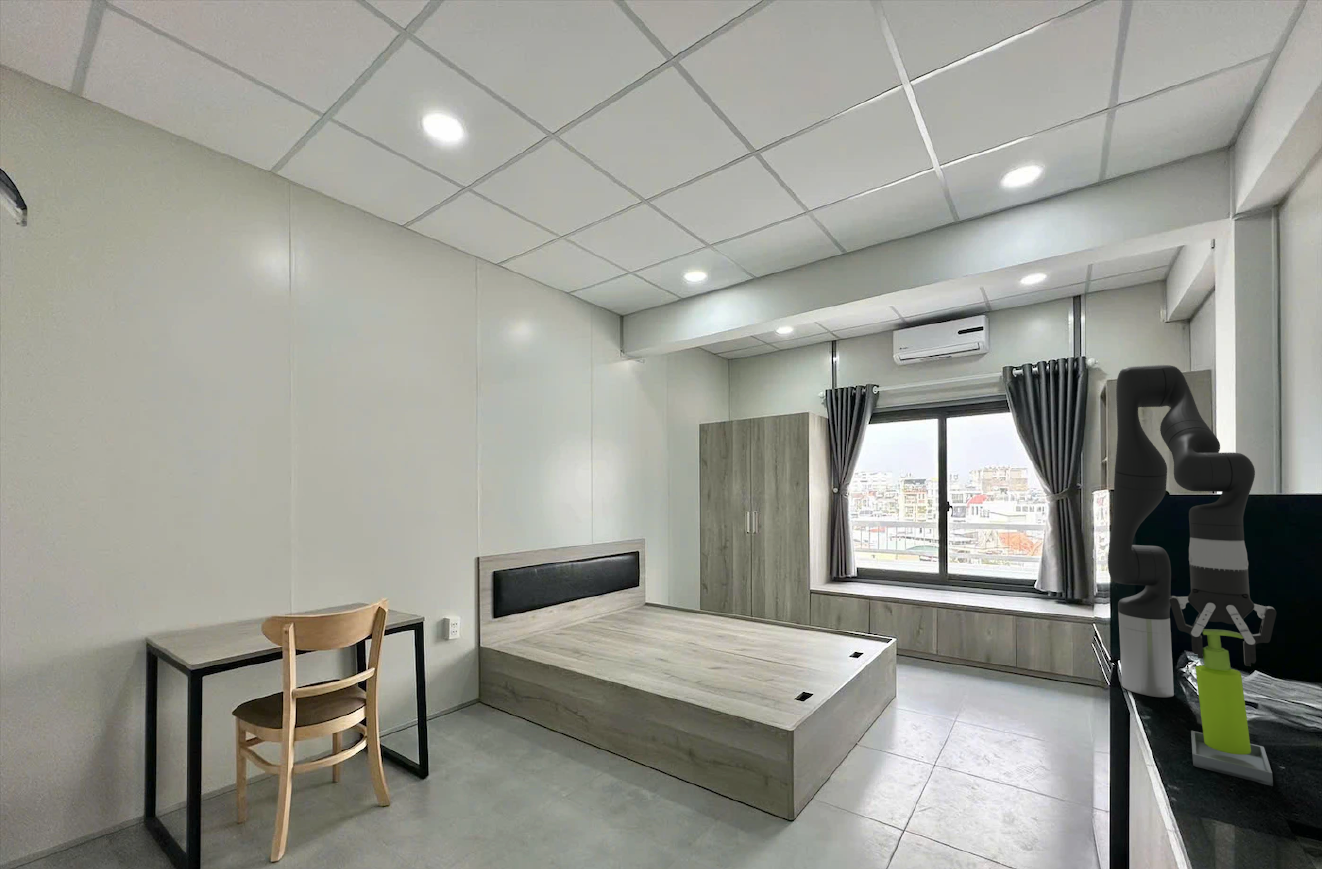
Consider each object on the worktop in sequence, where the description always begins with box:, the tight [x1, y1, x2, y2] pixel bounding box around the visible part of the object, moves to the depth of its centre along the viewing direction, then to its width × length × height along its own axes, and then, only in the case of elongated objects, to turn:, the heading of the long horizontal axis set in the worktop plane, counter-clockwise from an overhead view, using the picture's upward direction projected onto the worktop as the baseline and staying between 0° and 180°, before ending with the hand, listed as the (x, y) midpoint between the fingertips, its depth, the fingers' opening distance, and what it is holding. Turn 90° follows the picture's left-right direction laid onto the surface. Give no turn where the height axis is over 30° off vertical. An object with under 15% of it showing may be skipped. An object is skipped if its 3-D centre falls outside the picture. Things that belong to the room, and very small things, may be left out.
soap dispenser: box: [1194, 628, 1251, 755], centre depth 102 cm, size 6×7×20 cm
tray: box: [1190, 730, 1274, 787], centre depth 101 cm, size 12×10×2 cm
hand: (1223, 660), depth 102 cm, fingers closed on soap dispenser, 5 cm apart
